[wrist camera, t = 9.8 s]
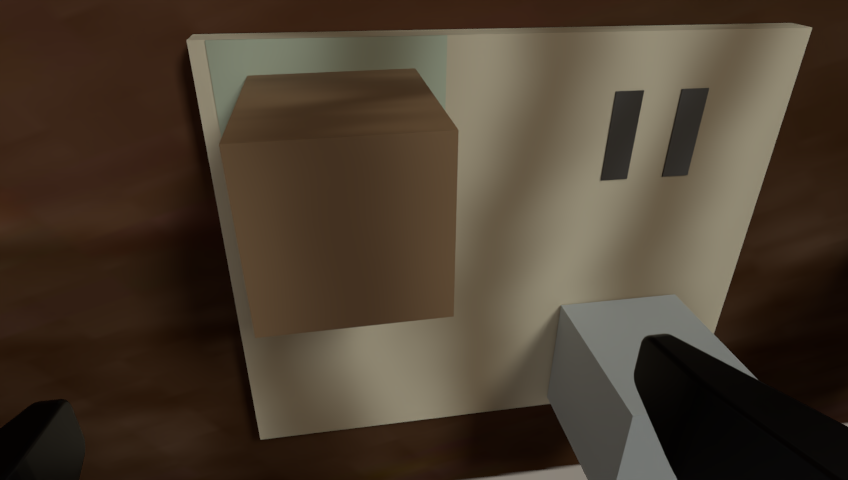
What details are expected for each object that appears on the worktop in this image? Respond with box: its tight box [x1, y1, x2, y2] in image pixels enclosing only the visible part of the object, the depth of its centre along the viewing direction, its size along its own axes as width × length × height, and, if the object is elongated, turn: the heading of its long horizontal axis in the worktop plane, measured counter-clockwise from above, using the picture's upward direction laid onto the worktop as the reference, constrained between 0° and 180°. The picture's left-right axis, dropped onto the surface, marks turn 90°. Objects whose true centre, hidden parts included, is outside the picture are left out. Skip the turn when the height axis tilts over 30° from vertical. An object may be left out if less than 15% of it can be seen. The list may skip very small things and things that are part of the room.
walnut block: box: [219, 68, 459, 338], centre depth 16 cm, size 5×5×6 cm
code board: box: [187, 23, 812, 440], centre depth 22 cm, size 20×16×1 cm
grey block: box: [547, 294, 758, 480], centre depth 22 cm, size 5×5×6 cm
